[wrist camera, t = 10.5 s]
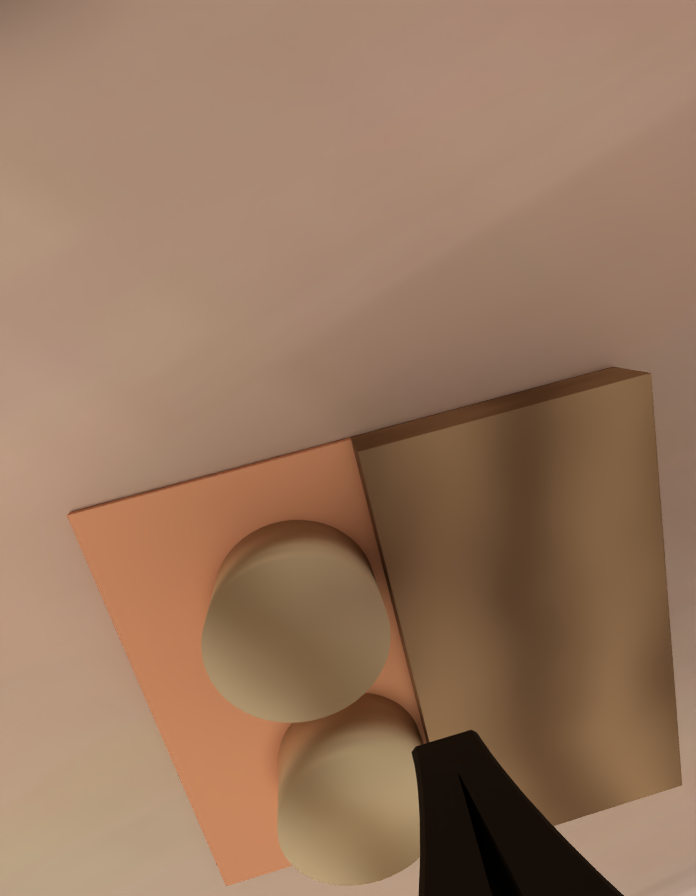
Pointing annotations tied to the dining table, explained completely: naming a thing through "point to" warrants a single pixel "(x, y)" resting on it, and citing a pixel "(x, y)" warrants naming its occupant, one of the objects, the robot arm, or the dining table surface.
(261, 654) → the coaster
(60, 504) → the dining table surface
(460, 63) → the dining table surface
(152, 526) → the mat
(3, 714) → the dining table surface
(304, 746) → the coaster
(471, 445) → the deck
